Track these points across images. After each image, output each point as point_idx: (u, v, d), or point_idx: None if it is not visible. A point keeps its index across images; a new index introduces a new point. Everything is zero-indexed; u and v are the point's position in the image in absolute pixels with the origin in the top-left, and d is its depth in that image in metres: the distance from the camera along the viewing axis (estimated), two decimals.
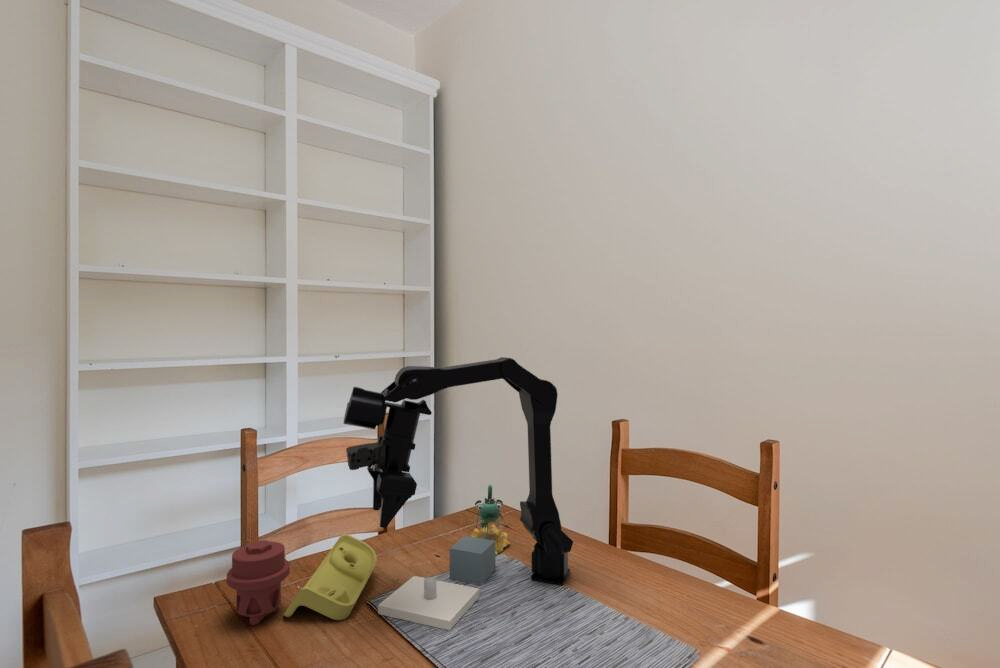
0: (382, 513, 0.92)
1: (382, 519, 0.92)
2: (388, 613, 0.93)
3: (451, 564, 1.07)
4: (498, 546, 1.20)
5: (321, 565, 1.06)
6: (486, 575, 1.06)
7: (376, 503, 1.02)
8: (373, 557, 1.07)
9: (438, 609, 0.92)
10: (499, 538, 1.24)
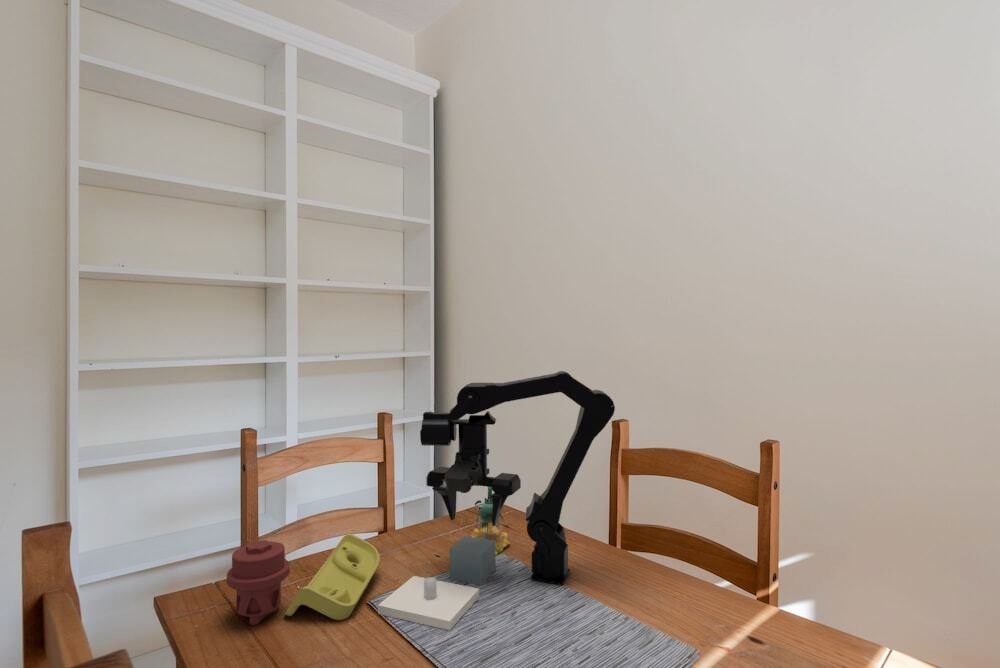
0: (496, 514, 1.06)
1: (496, 519, 1.06)
2: (388, 613, 0.93)
3: (451, 564, 1.07)
4: (498, 546, 1.20)
5: (324, 564, 1.06)
6: (486, 575, 1.06)
7: (453, 513, 1.10)
8: (376, 557, 1.07)
9: (438, 609, 0.92)
10: (499, 538, 1.24)
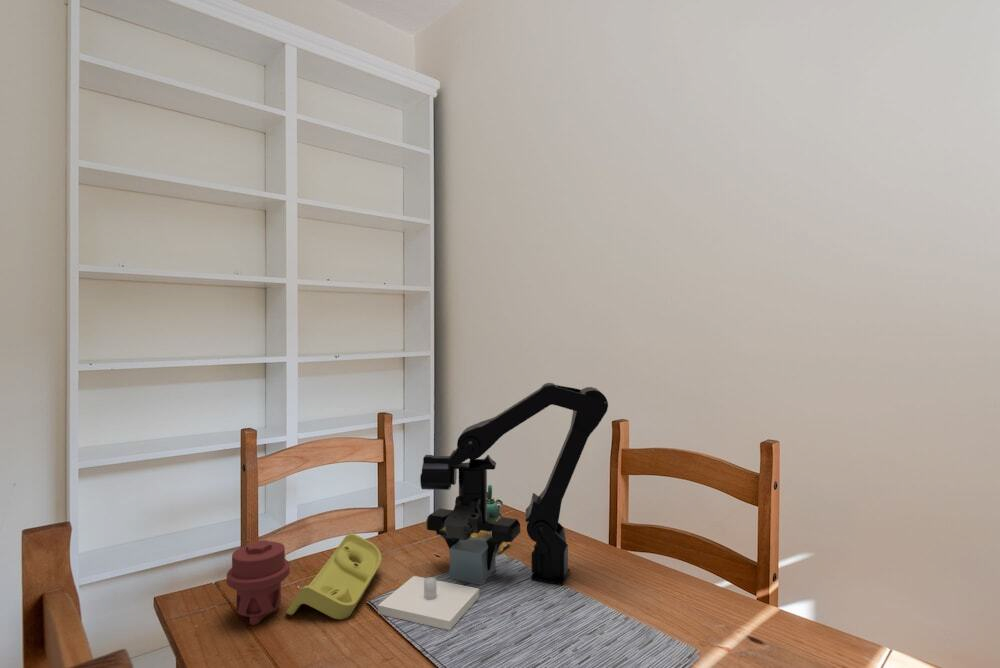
0: (491, 558, 1.06)
1: (491, 563, 1.07)
2: (388, 613, 0.93)
3: (451, 564, 1.07)
4: None
5: (326, 564, 1.07)
6: (486, 575, 1.06)
7: None
8: (378, 557, 1.07)
9: (438, 609, 0.92)
10: None
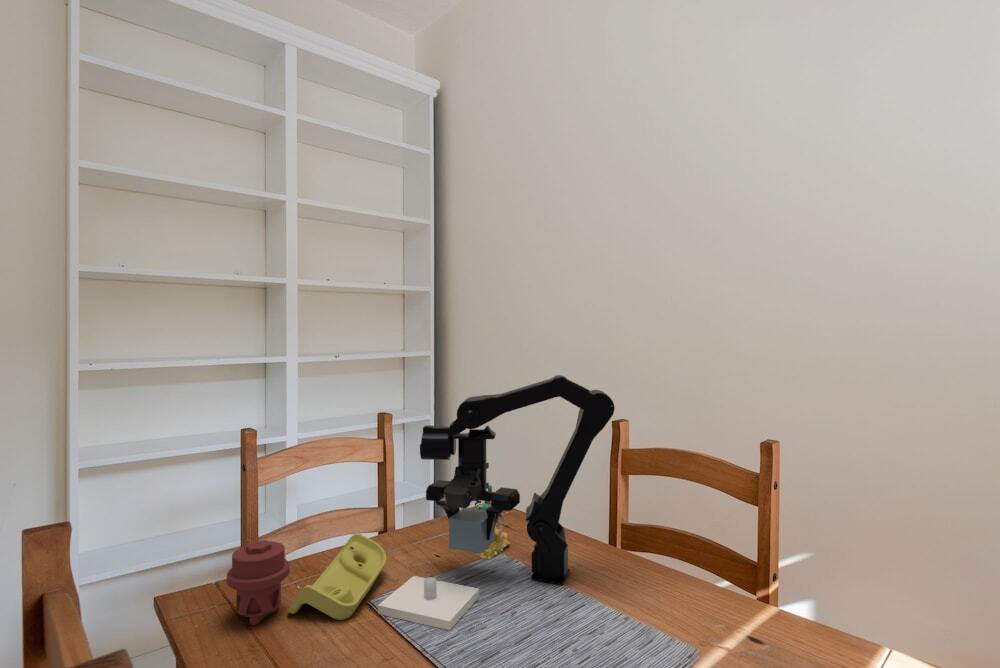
0: (491, 528, 1.06)
1: (490, 533, 1.07)
2: (388, 613, 0.93)
3: (450, 534, 1.06)
4: (498, 546, 1.20)
5: (332, 563, 1.07)
6: (485, 545, 1.06)
7: None
8: (383, 558, 1.07)
9: (438, 609, 0.92)
10: (499, 538, 1.24)
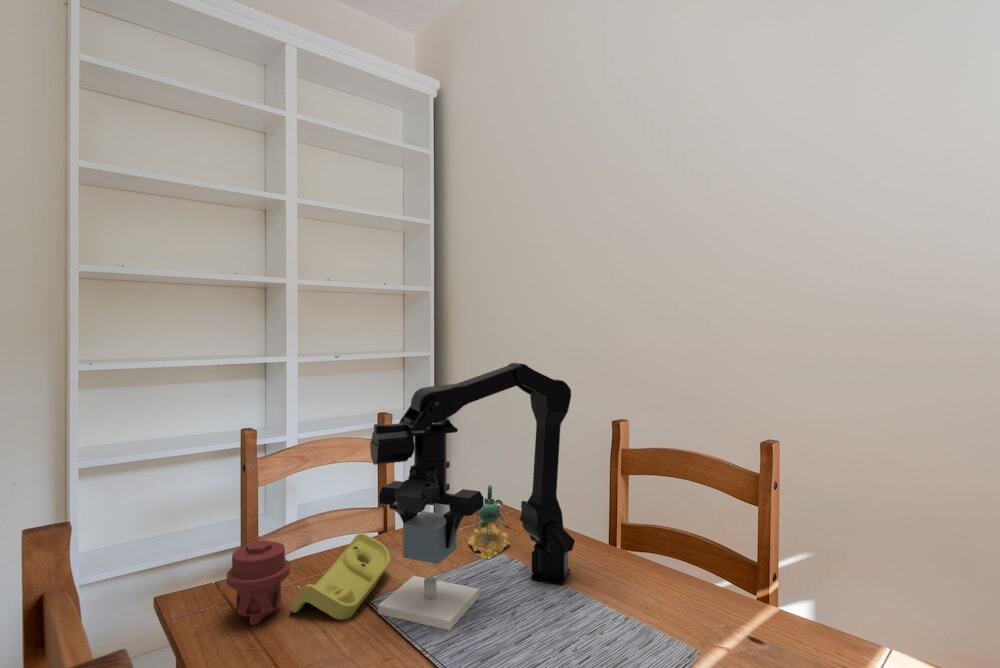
0: (450, 535, 0.94)
1: (450, 541, 0.94)
2: (388, 613, 0.93)
3: (405, 541, 0.94)
4: (498, 546, 1.20)
5: (336, 562, 1.07)
6: (444, 554, 0.94)
7: None
8: (386, 558, 1.07)
9: (438, 609, 0.92)
10: (499, 538, 1.24)
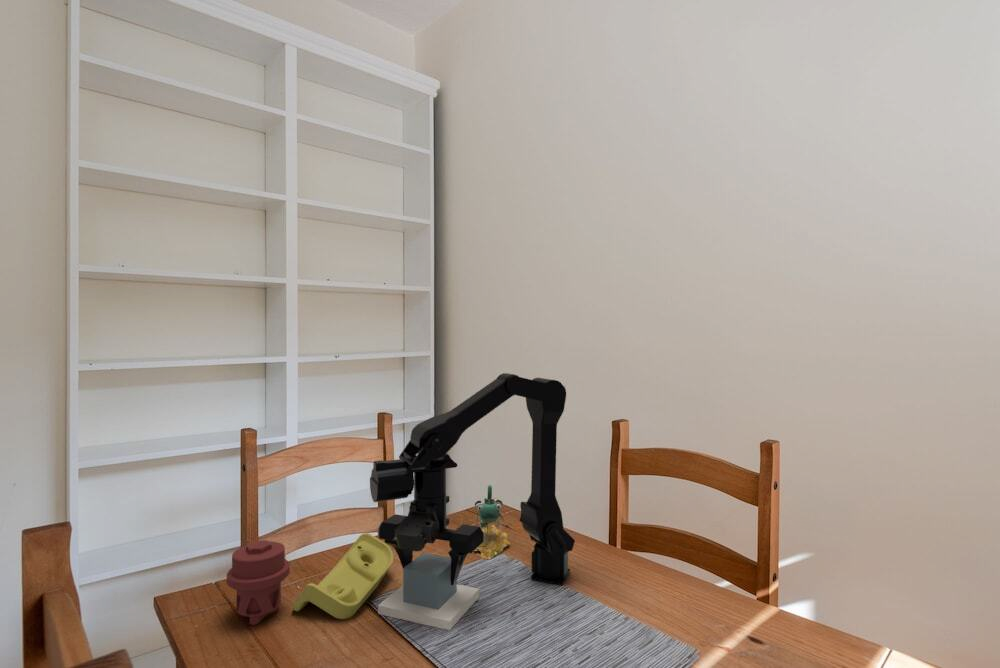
0: (455, 572, 0.94)
1: (455, 577, 0.94)
2: (388, 613, 0.93)
3: (405, 586, 0.94)
4: (498, 546, 1.20)
5: (340, 562, 1.07)
6: (444, 598, 0.94)
7: None
8: (390, 558, 1.07)
9: None
10: (499, 538, 1.24)
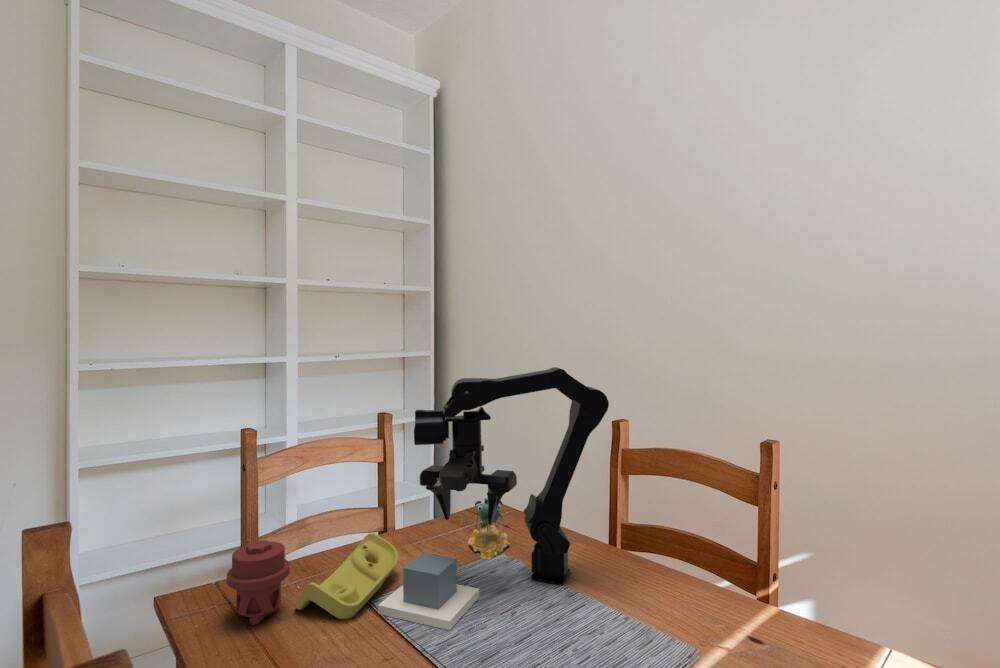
0: (492, 512, 1.03)
1: (492, 517, 1.03)
2: (388, 613, 0.93)
3: (405, 586, 0.94)
4: (498, 547, 1.20)
5: (345, 561, 1.08)
6: (444, 598, 0.94)
7: (447, 513, 1.07)
8: (394, 559, 1.07)
9: None
10: (499, 539, 1.24)
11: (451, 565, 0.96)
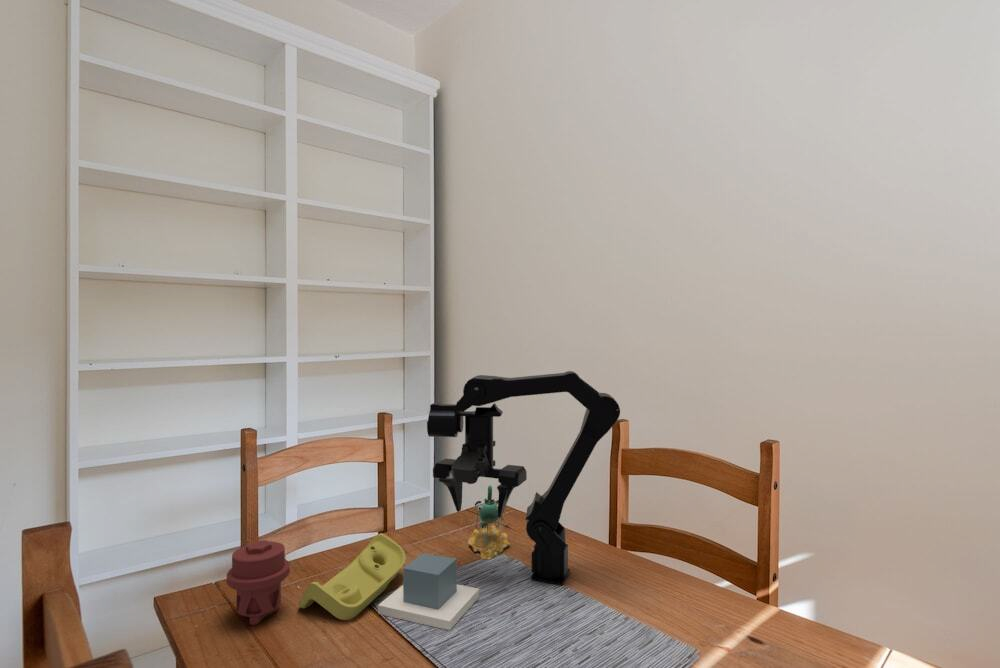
0: (502, 505, 1.06)
1: (502, 510, 1.07)
2: (388, 613, 0.93)
3: (405, 586, 0.94)
4: (498, 547, 1.20)
5: (354, 561, 1.08)
6: (444, 598, 0.94)
7: (459, 505, 1.11)
8: (401, 561, 1.06)
9: None
10: (499, 539, 1.24)
11: (451, 565, 0.96)
